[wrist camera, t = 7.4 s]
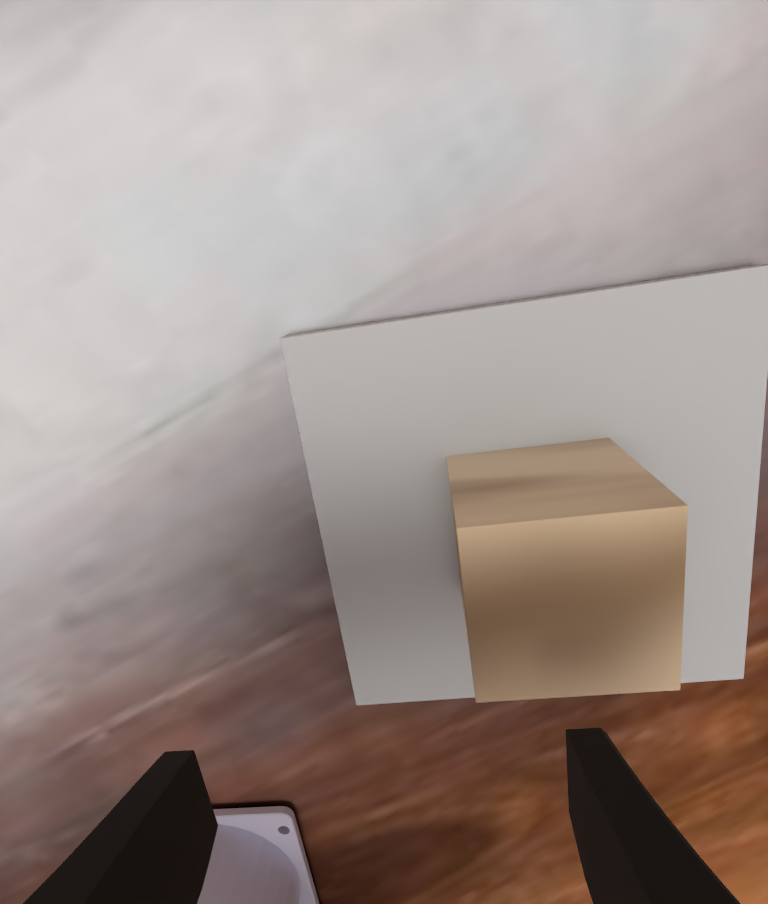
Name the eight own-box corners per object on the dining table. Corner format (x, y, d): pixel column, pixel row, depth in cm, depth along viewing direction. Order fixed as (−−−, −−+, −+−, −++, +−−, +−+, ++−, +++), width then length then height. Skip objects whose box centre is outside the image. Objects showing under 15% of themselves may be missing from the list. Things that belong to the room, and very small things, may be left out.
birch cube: (610, 578, 18) (680, 689, 13) (461, 591, 18) (475, 702, 13) (609, 437, 16) (688, 505, 11) (446, 456, 17) (456, 528, 12)
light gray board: (727, 659, 19) (743, 678, 18) (359, 685, 21) (356, 705, 20) (753, 264, 15) (776, 264, 14) (287, 334, 17) (279, 338, 16)
